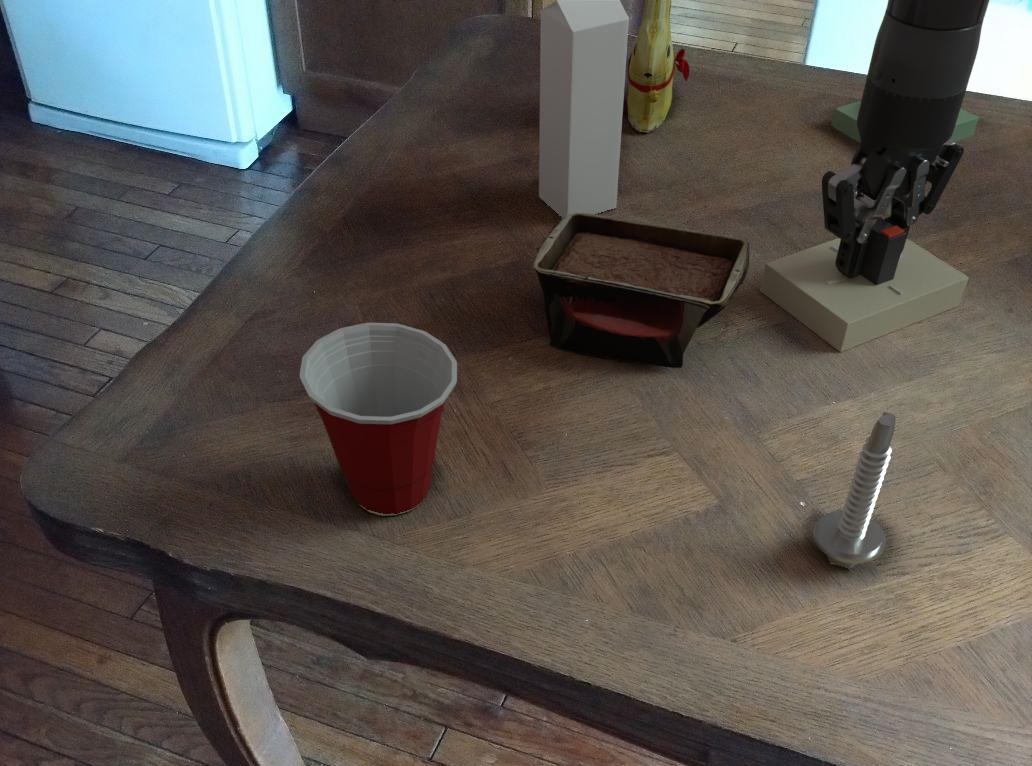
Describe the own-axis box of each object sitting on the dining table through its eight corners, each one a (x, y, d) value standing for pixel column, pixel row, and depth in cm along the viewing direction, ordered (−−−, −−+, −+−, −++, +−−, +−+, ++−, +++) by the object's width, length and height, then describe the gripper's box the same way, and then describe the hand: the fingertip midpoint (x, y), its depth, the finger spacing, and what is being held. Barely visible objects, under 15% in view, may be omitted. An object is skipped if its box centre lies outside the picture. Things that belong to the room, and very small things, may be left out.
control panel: (874, 250, 103) (882, 221, 101) (959, 306, 96) (970, 275, 94) (759, 291, 99) (765, 261, 96) (840, 352, 92) (848, 322, 89)
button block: (909, 103, 125) (918, 68, 122) (973, 136, 119) (984, 101, 116) (830, 127, 121) (837, 92, 118) (892, 162, 115) (901, 126, 112)
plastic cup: (448, 550, 76) (439, 422, 68) (305, 534, 78) (278, 406, 69) (476, 451, 84) (471, 324, 75) (344, 438, 85) (324, 312, 77)
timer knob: (839, 260, 96) (851, 212, 93) (856, 254, 97) (868, 206, 94) (876, 285, 93) (889, 237, 90) (893, 279, 94) (907, 231, 91)
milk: (538, 198, 111) (538, -28, 96) (588, 184, 113) (596, -40, 97) (567, 224, 108) (572, -7, 92) (618, 209, 109) (631, -20, 94)
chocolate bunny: (619, 138, 120) (628, -2, 110) (630, 97, 128) (640, -38, 117) (679, 143, 119) (695, 2, 108) (687, 101, 127) (703, -35, 116)
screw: (865, 528, 77) (888, 578, 74) (800, 533, 77) (819, 583, 74) (912, 386, 68) (941, 435, 64) (838, 391, 67) (862, 441, 64)
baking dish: (586, 281, 104) (572, 188, 97) (767, 299, 96) (766, 199, 89) (526, 373, 96) (505, 278, 89) (718, 400, 88) (713, 299, 81)
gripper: (883, 112, 78) (833, 310, 90) (1021, 70, 82) (956, 264, 95) (815, 76, 83) (777, 269, 95) (950, 38, 87) (896, 227, 99)
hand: (867, 265), depth 95 cm, fingers open, 4 cm apart
